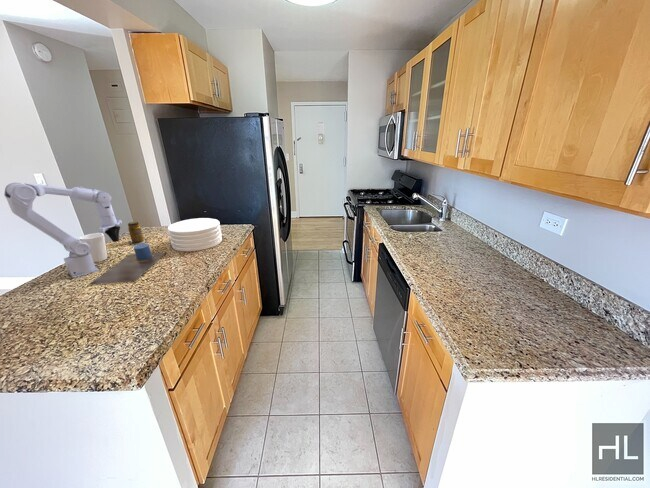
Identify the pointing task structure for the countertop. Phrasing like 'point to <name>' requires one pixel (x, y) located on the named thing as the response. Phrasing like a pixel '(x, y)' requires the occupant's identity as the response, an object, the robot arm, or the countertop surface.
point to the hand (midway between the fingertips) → (115, 241)
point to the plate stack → (195, 234)
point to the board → (127, 270)
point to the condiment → (135, 233)
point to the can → (142, 252)
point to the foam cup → (96, 246)
